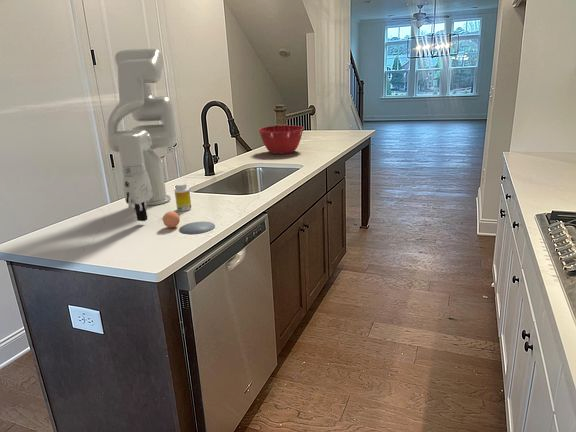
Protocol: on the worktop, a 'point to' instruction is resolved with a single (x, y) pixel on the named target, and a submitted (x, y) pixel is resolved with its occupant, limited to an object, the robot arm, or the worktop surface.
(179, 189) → the supplement bottle
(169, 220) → the ball
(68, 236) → the worktop surface
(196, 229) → the disc
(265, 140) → the mixing bowl
